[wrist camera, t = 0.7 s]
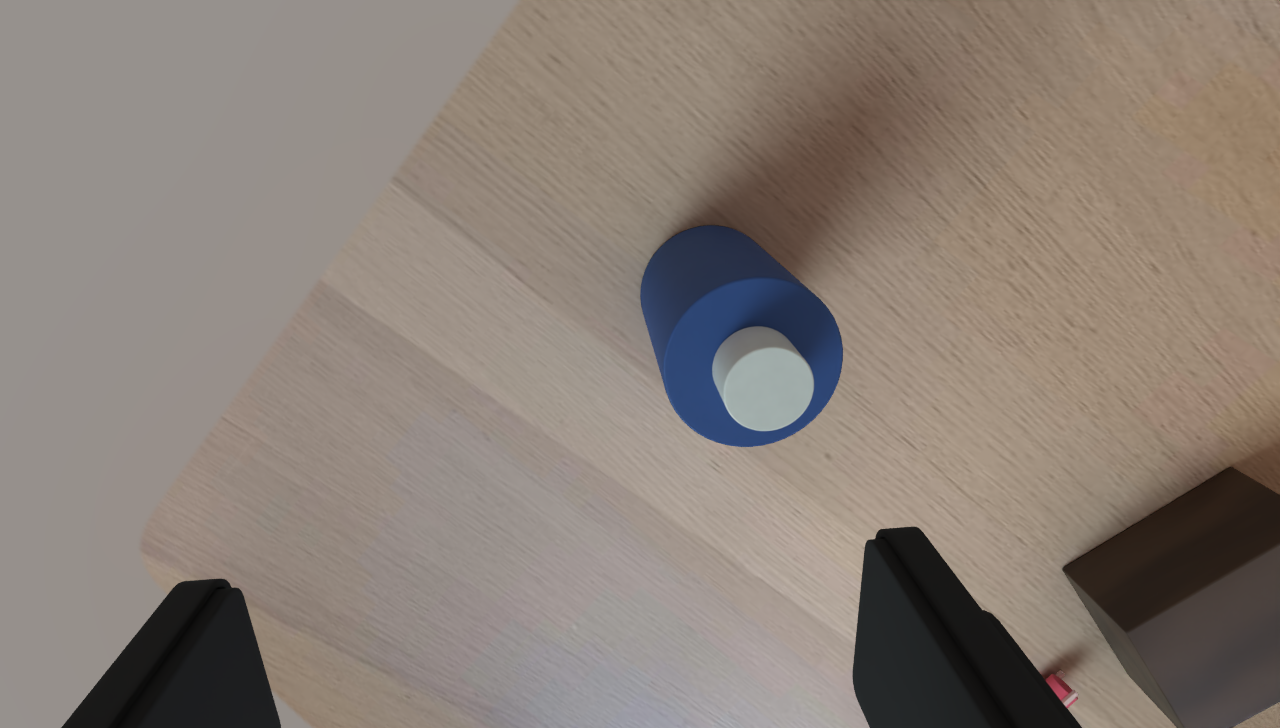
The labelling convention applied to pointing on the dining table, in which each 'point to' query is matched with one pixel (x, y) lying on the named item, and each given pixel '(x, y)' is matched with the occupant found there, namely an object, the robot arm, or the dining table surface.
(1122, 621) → the block
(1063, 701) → the pink long slotted bar
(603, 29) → the dining table surface
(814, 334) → the bottle
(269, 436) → the dining table surface
